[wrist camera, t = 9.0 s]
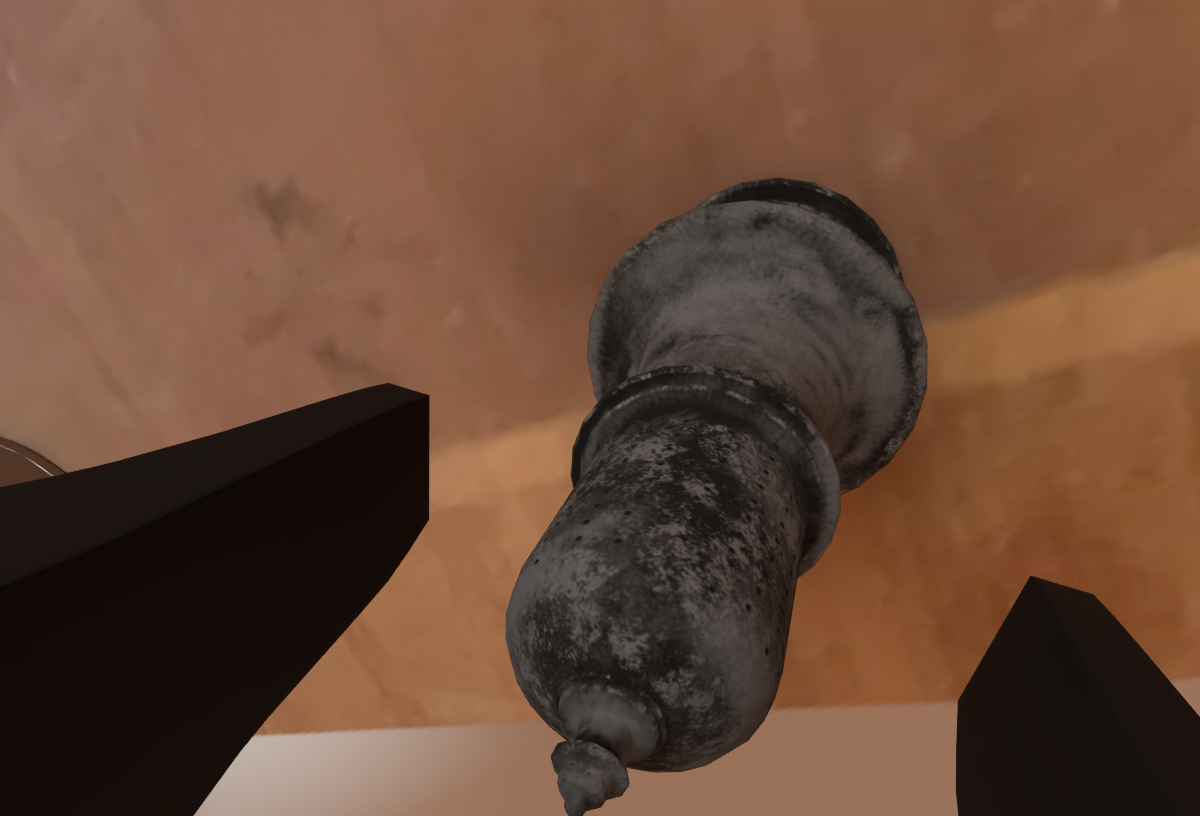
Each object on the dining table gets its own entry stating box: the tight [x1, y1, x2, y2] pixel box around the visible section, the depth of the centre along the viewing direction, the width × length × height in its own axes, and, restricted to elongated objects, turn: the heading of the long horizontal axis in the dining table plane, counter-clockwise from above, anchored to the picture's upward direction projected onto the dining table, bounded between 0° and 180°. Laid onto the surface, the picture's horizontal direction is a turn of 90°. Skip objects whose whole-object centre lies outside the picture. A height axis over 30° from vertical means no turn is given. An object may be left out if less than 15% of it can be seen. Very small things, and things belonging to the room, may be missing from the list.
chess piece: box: [506, 178, 927, 816], centre depth 11 cm, size 6×6×12 cm
